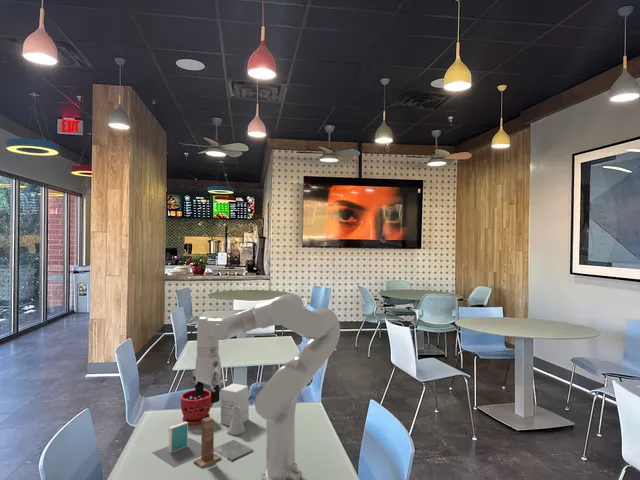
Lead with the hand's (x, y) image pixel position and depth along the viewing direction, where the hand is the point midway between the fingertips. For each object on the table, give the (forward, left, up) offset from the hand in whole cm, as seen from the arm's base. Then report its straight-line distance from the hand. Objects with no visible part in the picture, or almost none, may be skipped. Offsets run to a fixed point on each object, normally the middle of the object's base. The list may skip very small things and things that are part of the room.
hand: (207, 398), depth 148 cm
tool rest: (0, -11, -22) cm, 25 cm away
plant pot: (+34, -17, -23) cm, 44 cm away
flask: (+12, -22, -23) cm, 34 cm away
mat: (+13, +2, -22) cm, 26 cm away
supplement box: (+21, -28, -23) cm, 42 cm away
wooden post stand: (0, 0, -22) cm, 22 cm away
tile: (+16, +2, -22) cm, 27 cm away
